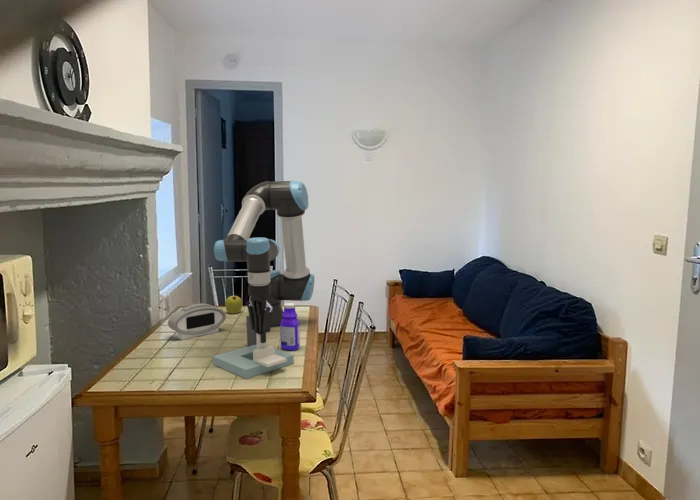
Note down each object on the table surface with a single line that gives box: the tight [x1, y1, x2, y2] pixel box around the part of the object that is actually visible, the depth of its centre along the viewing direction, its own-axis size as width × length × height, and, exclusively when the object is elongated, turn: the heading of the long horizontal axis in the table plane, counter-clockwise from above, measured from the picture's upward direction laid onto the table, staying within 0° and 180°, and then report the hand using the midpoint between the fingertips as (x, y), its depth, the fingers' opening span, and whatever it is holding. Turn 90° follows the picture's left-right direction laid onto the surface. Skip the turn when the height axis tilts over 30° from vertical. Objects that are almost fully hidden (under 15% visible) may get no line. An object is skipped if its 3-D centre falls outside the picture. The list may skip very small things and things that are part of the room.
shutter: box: [253, 344, 287, 367], centre depth 187 cm, size 8×8×4 cm
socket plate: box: [212, 344, 295, 380], centre depth 194 cm, size 20×20×3 cm
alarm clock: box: [167, 303, 227, 341], centre depth 230 cm, size 23×6×13 cm, turn 132°
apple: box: [224, 293, 243, 315], centre depth 266 cm, size 8×8×10 cm
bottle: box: [279, 302, 301, 351], centre depth 210 cm, size 7×6×17 cm
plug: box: [245, 315, 257, 347], centre depth 214 cm, size 5×5×15 cm
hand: (261, 351), depth 190 cm, fingers closed
